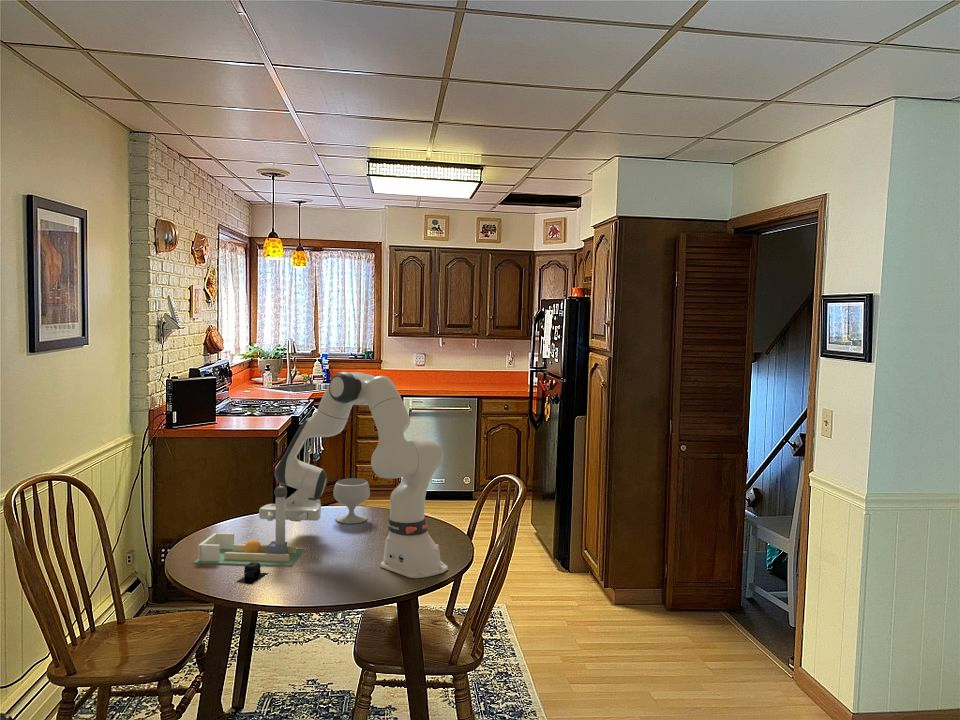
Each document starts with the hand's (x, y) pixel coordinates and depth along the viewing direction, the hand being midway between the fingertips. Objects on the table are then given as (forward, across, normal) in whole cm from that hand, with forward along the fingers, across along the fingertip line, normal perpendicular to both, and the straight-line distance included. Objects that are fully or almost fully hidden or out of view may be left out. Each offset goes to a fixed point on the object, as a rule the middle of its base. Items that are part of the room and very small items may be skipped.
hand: (283, 518), depth 232 cm
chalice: (-42, +14, +12) cm, 46 cm away
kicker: (+3, -1, +11) cm, 11 cm away
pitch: (+3, -10, +12) cm, 16 cm away
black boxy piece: (+21, -3, +13) cm, 25 cm away
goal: (+3, -10, +11) cm, 16 cm away
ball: (+3, -9, +9) cm, 13 cm away
